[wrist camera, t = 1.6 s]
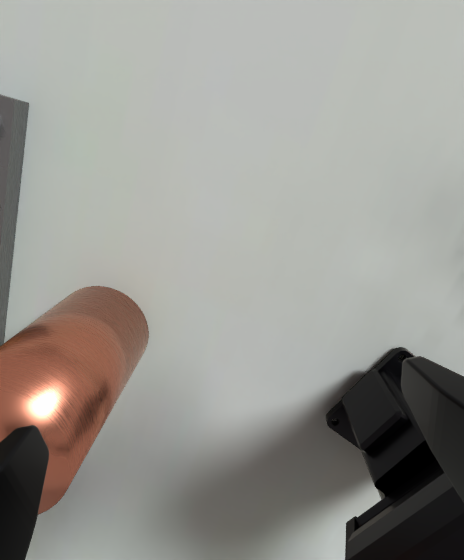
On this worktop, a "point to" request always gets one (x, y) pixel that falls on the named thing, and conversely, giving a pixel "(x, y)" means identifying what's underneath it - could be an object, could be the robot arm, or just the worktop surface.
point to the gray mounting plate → (9, 189)
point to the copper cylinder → (70, 376)
